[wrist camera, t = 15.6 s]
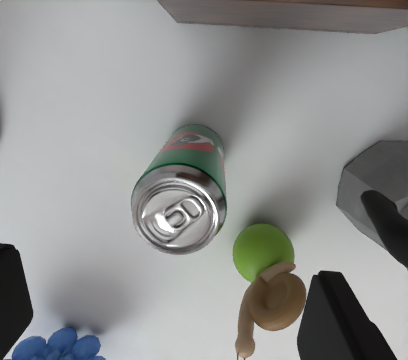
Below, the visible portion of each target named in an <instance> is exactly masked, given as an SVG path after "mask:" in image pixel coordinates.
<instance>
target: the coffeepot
mask: <svg viewBox="0 0 408 360" xmlns="http://www.w3.org/2000/svg"><path fill="white" fill-rule="evenodd" d="M336 205H337V207H338V208H339V209H340V210H341V211H342V212H343V213H344V214H345V216H346V217H347V218H348V219H349V220H350V221H351V222H352V223H353V225H354V226H355V227H356V228H357V229H358V230H359V231H361V232H362V233H363V234H365V235H366V236H368V237H369V238H370V239H372V240H373V241H375V242H376V243H377V244H379V245H380V246H381V247H383V248H384V249H386V250H387V251H388V252H389V253H390V254H391V255H392V256H393V257H394V258H395V259H396V260H397V261H398V262H400V263H401V264H403V265H404V266H405V267H406V268H407V270H408V141H380V142H378V143H377V144H375V145H373V146H372V147H370V148H369V149H367V150H366V151H364V152H362V153H361V154H360V155H358V156H357V157H356V158H355V159H354V160H353V161H352V162H351V163H350V164H349V165H348V166H346V167H345V168H344V169H343V173H342V176H341V180H340V183H339V186H338V198H337V203H336Z"/></svg>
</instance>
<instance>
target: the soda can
mask: <svg viewBox="0 0 408 360" xmlns="http://www.w3.org/2000/svg"><path fill="white" fill-rule="evenodd" d="M131 209H132V216H133V222H134V226H135V228H136V230H137V232H138V234H139V235H140V237H141V238H142V239H143V240H144V241H145V242H146V243H147V244H148V245H150V246H151V247H153V248H154V249H157V250H159V251H161V252H164V253H168V254H174V255H183V254H190V253H193V252H196V251H198V250H200V249H202V248H204V247H205V246H206V245H208V243H209V242H210V241H211V240H212V239H213V238H214V236H215V235H216V234H217V233H218V232H219V230H220V229H221V228H222V226H223V223H224V221H225V218H226V212H227V201H226V181H225V162H224V148H223V144H222V142H221V140H220V138H219V137H218V135H217V134H216V133H215V132H214V131H213V130H211V129H210V128H208V127H205V126H203V125H198V124H191V125H186V126H183V127H181V128H179V129H178V130H176V131H175V132H174V133H173V134H172V135H171V137H170V138H169V139H168V141H167V142H166V144H165V145H164V146H163V148H162V149H161V150H160V152H159V153H158V154H157V156H156V157H155V159H154V160H153V161H152V163H151V164H150V165H149V167H148V168H147V169H146V171H145V172H144V174H143V175H142V176H141V178H140V179H139V180H138V182H137V183H136V185H135V187H134V189H133V193H132V197H131Z"/></svg>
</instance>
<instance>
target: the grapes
mask: <svg viewBox="0 0 408 360" xmlns="http://www.w3.org/2000/svg"><path fill="white" fill-rule="evenodd" d="M77 338H78V336H77V333H76V331H75V330H74V329H72V328H62V329H60V330H58V331H56V332H55V333H53V334H52V336H51V337H50V338H49V340H48V343H47V344H46V340H45V339H44V338H42V337H41V336H32V337H29V338H27V339H25V340H23V341H21V342H20V343H19V344H18V345H17V346H16V347H15V349H14V352H13V354H12V359H5V360H106V359H105V358H104V357H102V356H96V354H97V353H98V352H99V349H100V346H101V344H100V341H99V338H98V337H96V336H94V335H86V336H84V337H82V338H80V339H79V340H77Z"/></svg>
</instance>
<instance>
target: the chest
mask: <svg viewBox="0 0 408 360" xmlns="http://www.w3.org/2000/svg"><path fill="white" fill-rule="evenodd" d="M157 1H158V2H159V3H160V4H161V5H162V6H163V8H164V9H165V10H166V11H167V12H168V13H169V14H170V15H171V16H172V17H173V19H174V20H175V21H176V22H177V23H189V24H207V25H224V26H242V27H259V28H277V29H294V30H312V31H329V32H347V33H364V34H377V33H380V32H385V31H389V30H394V29H398V28H402V27H406V26H408V0H157Z"/></svg>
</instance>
